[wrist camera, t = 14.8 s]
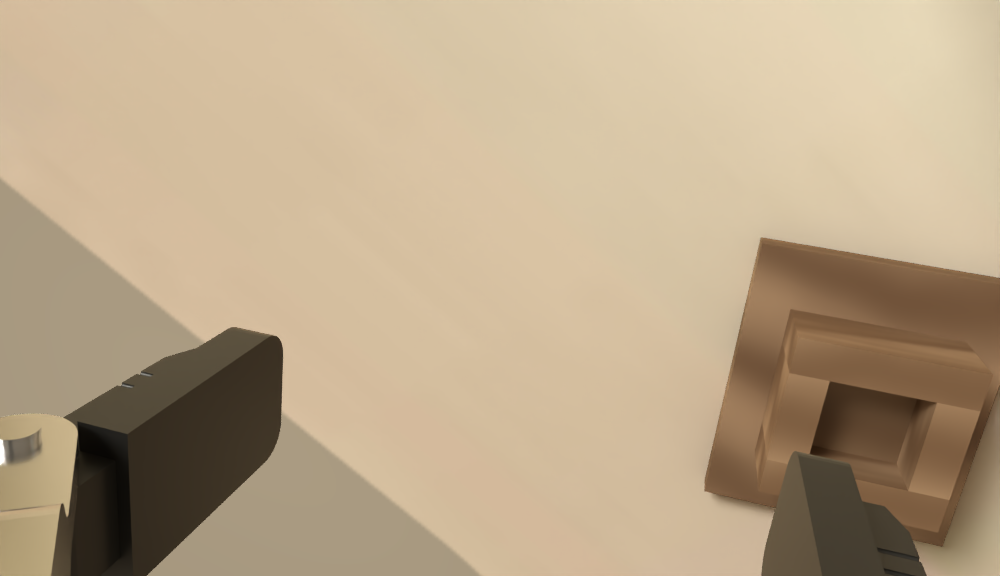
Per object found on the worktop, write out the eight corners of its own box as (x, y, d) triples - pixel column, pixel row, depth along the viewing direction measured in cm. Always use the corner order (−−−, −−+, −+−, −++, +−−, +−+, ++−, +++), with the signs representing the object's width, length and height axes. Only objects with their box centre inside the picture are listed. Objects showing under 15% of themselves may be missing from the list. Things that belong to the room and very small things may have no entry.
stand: (761, 237, 40) (767, 265, 35) (1024, 282, 38) (1069, 318, 33) (704, 479, 45) (703, 533, 40) (936, 533, 42) (964, 597, 37)
